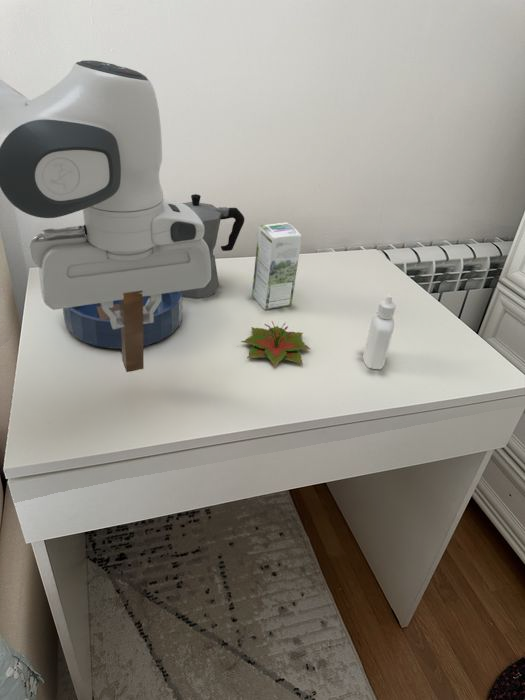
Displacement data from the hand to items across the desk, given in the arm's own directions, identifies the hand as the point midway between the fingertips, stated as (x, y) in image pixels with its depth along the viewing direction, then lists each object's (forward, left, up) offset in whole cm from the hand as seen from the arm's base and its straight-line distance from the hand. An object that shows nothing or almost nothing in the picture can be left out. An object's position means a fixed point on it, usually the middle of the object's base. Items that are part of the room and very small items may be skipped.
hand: (132, 323), depth 69 cm
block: (0, +15, -11) cm, 19 cm away
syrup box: (+30, +18, -12) cm, 37 cm away
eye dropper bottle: (+38, -4, -12) cm, 40 cm away
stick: (0, +2, -8) cm, 8 cm away
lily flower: (+24, +4, -12) cm, 27 cm away
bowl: (+3, +20, -12) cm, 23 cm away
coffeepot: (+19, +27, -12) cm, 35 cm away
